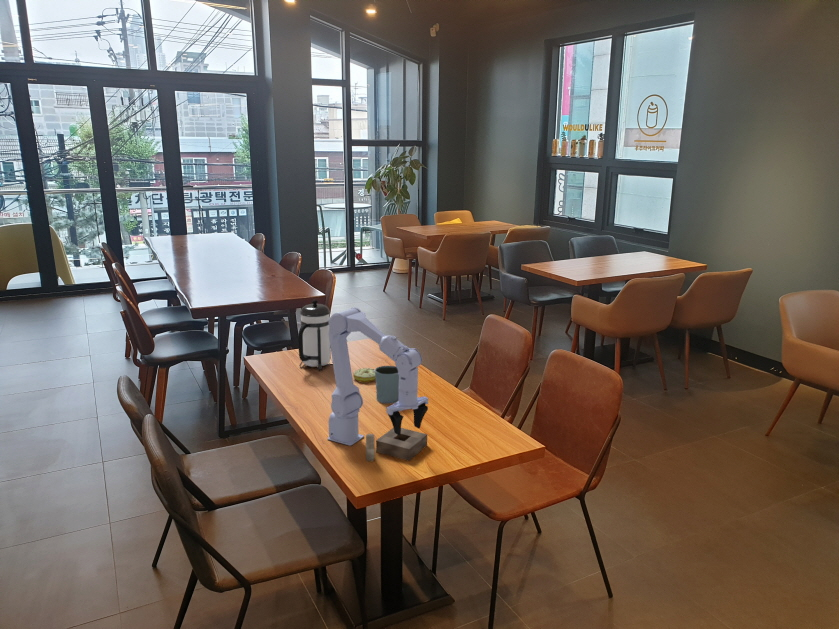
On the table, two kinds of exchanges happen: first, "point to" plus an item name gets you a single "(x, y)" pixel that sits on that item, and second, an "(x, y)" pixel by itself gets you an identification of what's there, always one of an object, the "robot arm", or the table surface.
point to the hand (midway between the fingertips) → (407, 430)
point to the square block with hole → (401, 443)
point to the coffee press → (314, 335)
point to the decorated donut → (365, 375)
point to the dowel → (370, 447)
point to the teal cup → (387, 384)
